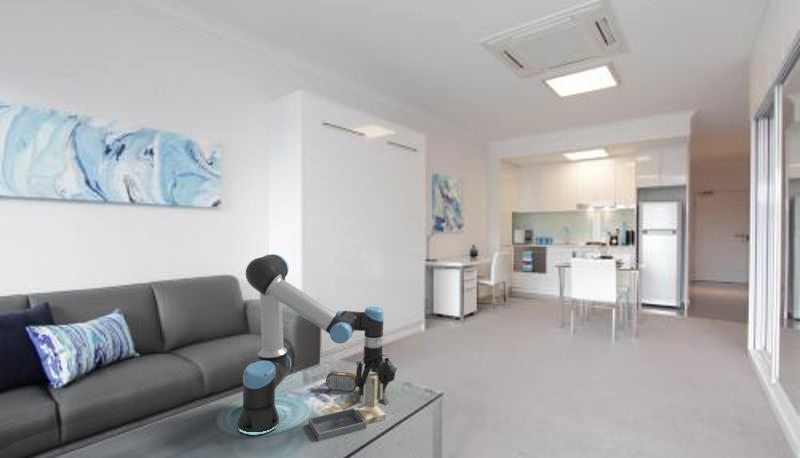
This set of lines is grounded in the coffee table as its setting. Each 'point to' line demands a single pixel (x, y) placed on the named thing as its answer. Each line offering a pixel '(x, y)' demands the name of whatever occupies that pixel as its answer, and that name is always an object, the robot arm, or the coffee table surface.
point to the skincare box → (372, 389)
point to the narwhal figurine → (391, 377)
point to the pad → (371, 414)
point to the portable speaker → (341, 381)
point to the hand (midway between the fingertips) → (371, 399)
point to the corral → (338, 431)
